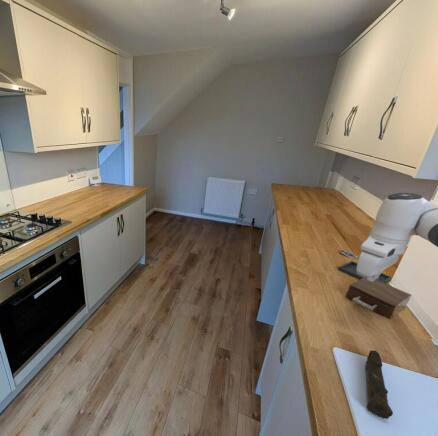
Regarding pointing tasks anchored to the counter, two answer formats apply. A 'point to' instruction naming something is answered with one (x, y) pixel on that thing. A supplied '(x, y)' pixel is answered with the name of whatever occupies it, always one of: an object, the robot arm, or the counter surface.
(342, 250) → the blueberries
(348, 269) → the tray
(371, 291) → the cabinet
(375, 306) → the drawer
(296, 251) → the counter surface
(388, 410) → the dark brown elongated piece
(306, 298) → the counter surface
